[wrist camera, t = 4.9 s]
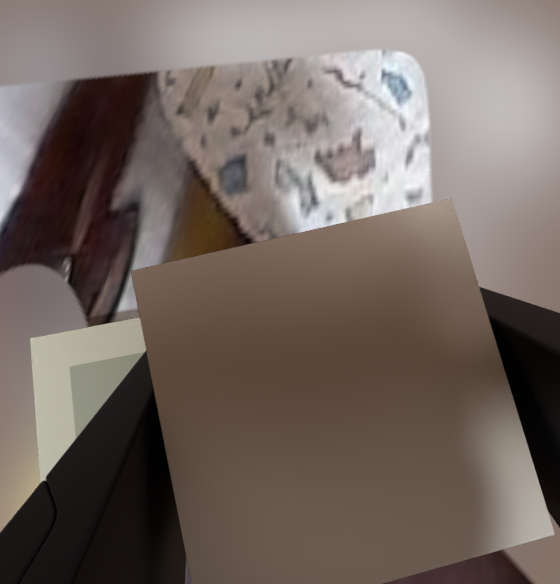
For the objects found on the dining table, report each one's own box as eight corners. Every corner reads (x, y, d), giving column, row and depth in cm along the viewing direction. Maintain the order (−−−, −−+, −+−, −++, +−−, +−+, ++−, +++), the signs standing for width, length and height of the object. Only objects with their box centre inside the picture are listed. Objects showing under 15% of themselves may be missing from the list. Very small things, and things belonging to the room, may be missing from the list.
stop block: (358, 400, 19) (555, 534, 6) (249, 428, 19) (201, 634, 6) (330, 292, 20) (451, 198, 7) (224, 317, 19) (131, 271, 6)
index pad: (242, 505, 20) (241, 510, 20) (52, 548, 20) (45, 554, 19) (209, 305, 22) (207, 304, 22) (36, 339, 22) (29, 338, 21)
